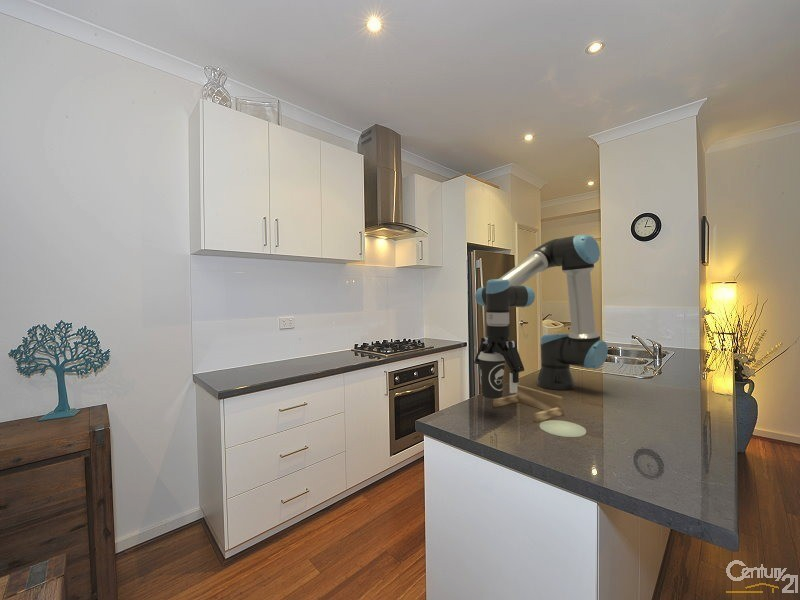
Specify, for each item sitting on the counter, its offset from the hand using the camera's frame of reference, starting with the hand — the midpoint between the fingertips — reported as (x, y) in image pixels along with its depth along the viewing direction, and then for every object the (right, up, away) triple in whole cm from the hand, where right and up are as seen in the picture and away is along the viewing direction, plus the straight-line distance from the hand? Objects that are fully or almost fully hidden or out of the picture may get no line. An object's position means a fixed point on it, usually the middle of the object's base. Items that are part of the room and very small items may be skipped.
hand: (497, 388), depth 117 cm
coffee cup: (-1, -4, +2) cm, 4 cm away
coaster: (+17, -10, -11) cm, 22 cm away
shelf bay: (+12, -10, +7) cm, 17 cm away
